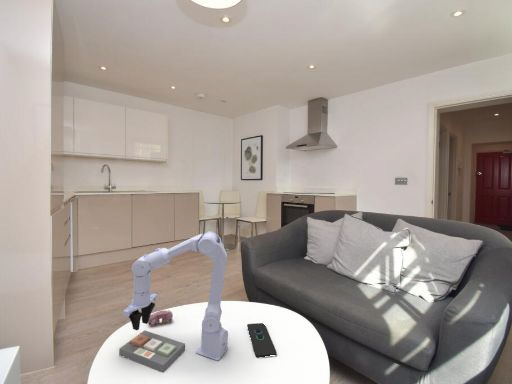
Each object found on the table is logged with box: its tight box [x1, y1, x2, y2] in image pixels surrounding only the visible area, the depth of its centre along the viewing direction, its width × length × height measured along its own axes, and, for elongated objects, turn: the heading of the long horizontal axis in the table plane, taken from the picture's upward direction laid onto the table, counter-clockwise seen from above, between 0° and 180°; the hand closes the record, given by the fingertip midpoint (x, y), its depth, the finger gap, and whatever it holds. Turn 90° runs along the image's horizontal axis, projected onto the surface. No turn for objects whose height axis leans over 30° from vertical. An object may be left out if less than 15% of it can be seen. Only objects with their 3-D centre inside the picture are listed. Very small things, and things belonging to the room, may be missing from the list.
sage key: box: [157, 343, 176, 357], centre depth 93 cm, size 4×4×2 cm
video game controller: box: [148, 310, 174, 325], centre depth 113 cm, size 10×5×7 cm
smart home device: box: [246, 322, 278, 359], centre depth 106 cm, size 8×2×20 cm
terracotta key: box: [130, 333, 149, 347], centre depth 97 cm, size 4×4×2 cm
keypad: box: [118, 330, 186, 373], centre depth 95 cm, size 19×12×3 cm, turn 70°
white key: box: [144, 338, 162, 352], centre depth 95 cm, size 4×4×2 cm
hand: (140, 326), depth 96 cm, fingers open, 4 cm apart
